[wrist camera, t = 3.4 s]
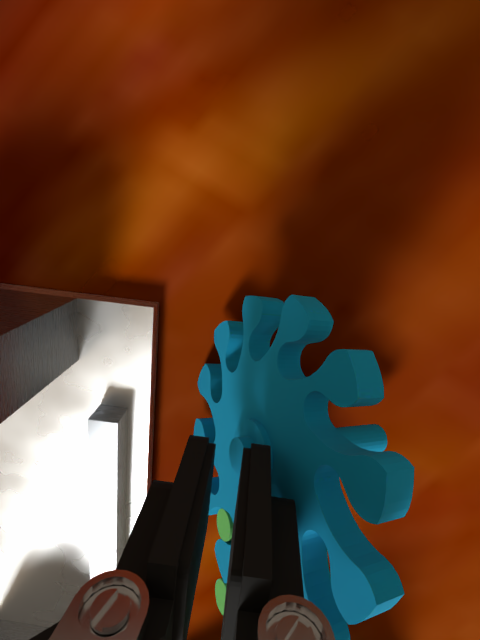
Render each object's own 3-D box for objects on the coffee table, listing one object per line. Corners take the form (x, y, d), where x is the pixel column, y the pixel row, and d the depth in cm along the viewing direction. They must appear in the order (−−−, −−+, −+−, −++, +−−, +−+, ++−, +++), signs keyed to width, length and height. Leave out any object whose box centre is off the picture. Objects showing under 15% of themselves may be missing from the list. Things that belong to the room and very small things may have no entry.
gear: (211, 253, 14) (450, 405, 6) (334, 273, 17) (612, 394, 9) (161, 490, 17) (264, 803, 9) (270, 474, 20) (425, 700, 12)
